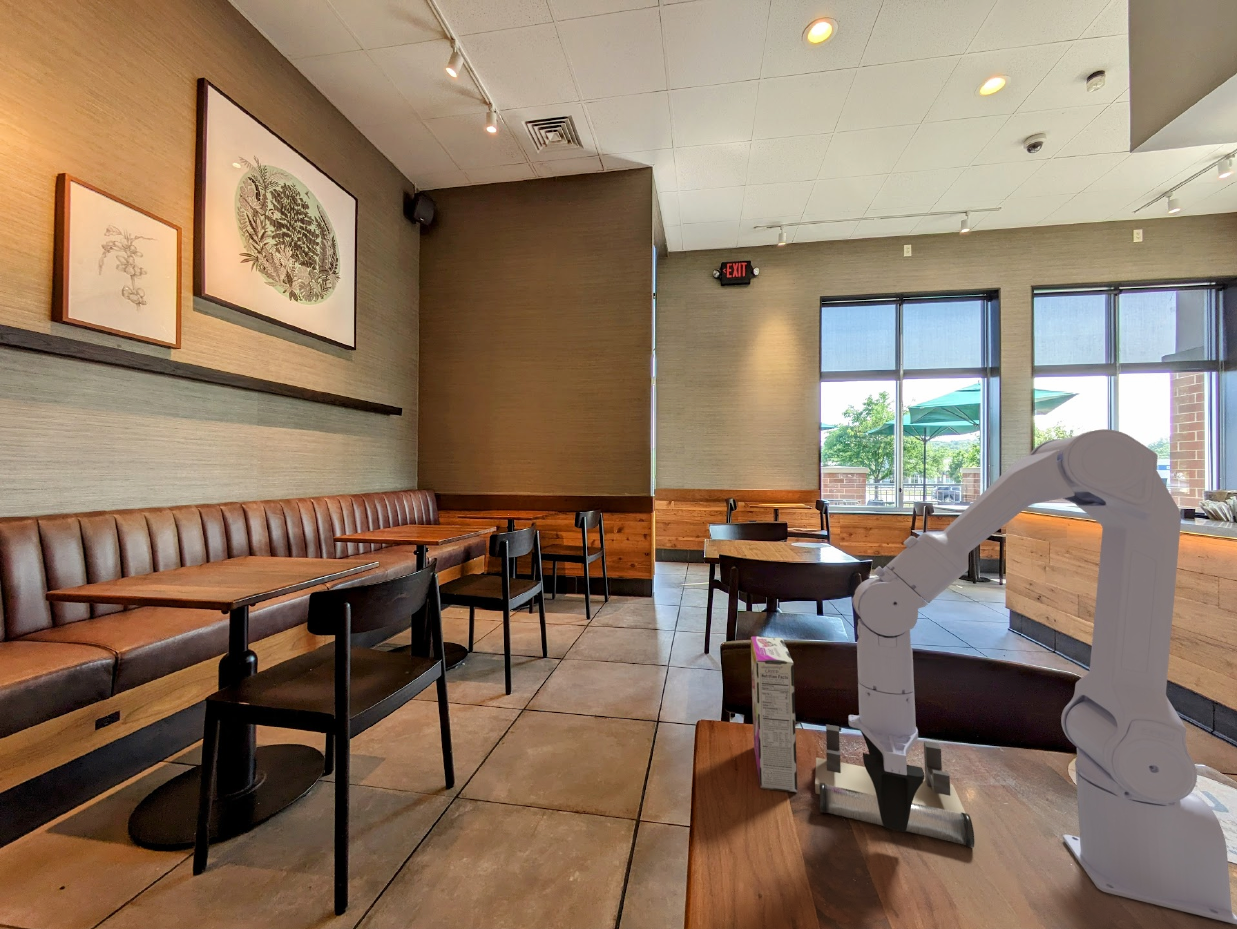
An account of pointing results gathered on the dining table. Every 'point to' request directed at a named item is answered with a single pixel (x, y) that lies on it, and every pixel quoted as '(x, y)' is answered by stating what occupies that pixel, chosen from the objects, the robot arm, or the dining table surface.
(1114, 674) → the robot arm
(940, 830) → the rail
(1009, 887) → the dining table surface
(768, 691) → the candy bar box
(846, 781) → the rack
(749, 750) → the dining table surface
